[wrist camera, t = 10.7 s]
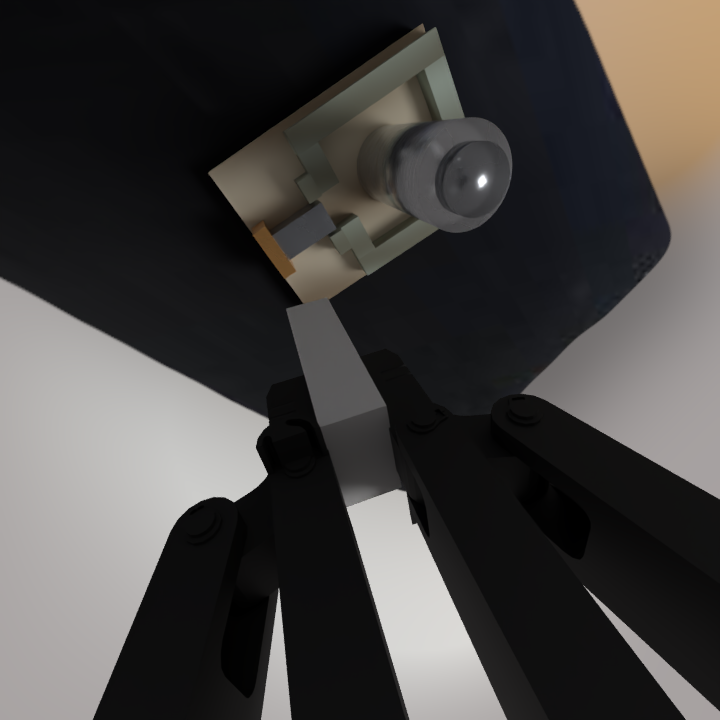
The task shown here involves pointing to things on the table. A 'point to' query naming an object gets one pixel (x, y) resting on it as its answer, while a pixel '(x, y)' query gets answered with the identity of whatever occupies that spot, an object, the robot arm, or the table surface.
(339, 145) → the dock mount
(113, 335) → the table surface
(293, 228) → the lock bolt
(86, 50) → the table surface
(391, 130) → the metal bottle
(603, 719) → the robot arm
